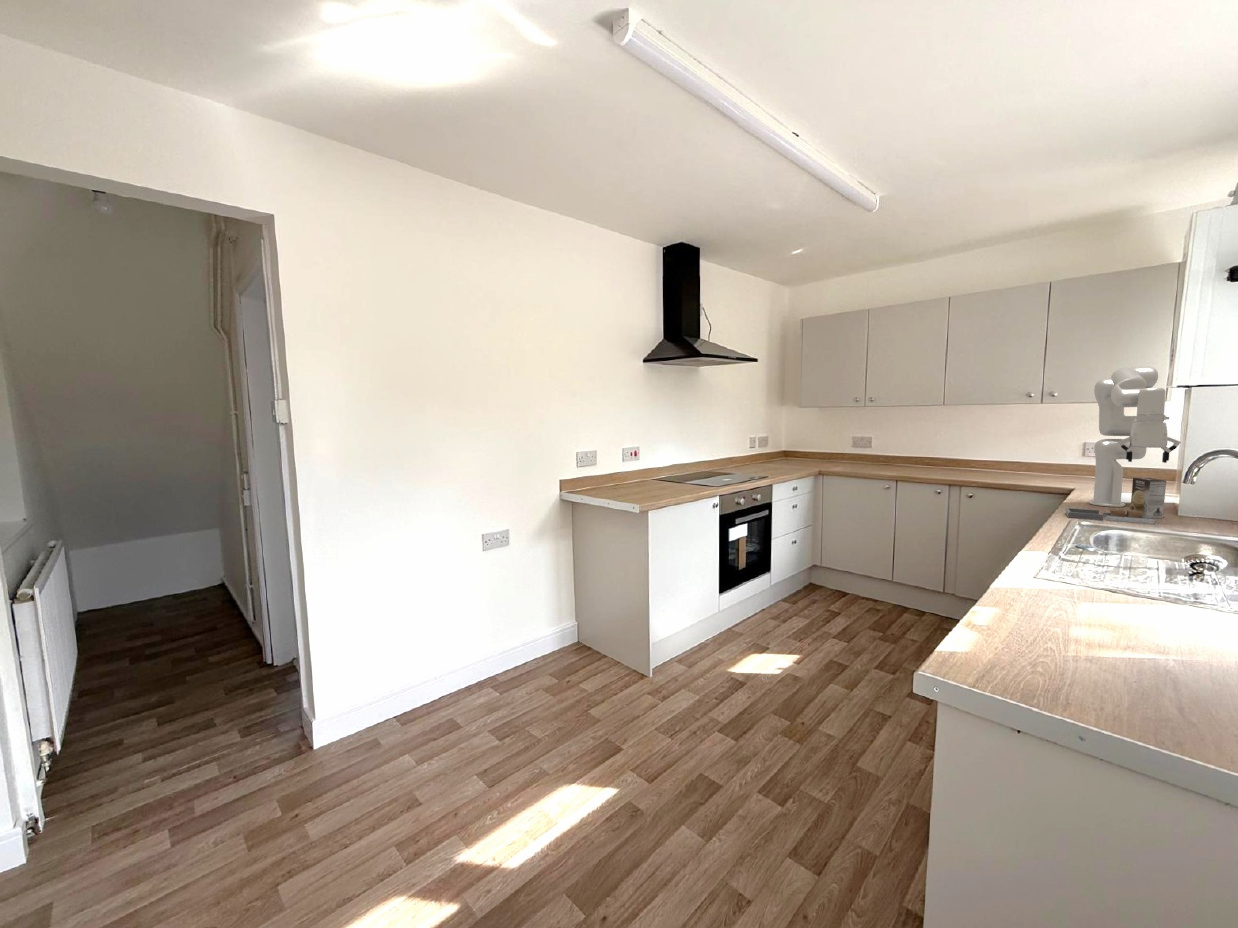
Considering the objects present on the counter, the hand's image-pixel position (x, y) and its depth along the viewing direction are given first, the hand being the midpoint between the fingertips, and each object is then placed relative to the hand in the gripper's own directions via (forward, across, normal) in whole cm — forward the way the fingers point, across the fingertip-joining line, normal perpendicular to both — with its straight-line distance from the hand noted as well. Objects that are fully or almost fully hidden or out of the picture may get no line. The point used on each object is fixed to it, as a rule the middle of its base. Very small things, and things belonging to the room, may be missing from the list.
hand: (1146, 462), depth 201 cm
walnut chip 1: (+24, +7, -3) cm, 26 cm away
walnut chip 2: (+24, +2, -3) cm, 25 cm away
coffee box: (+24, -4, -18) cm, 31 cm away
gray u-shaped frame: (+24, +17, -3) cm, 30 cm away
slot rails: (+24, +4, -3) cm, 25 cm away
